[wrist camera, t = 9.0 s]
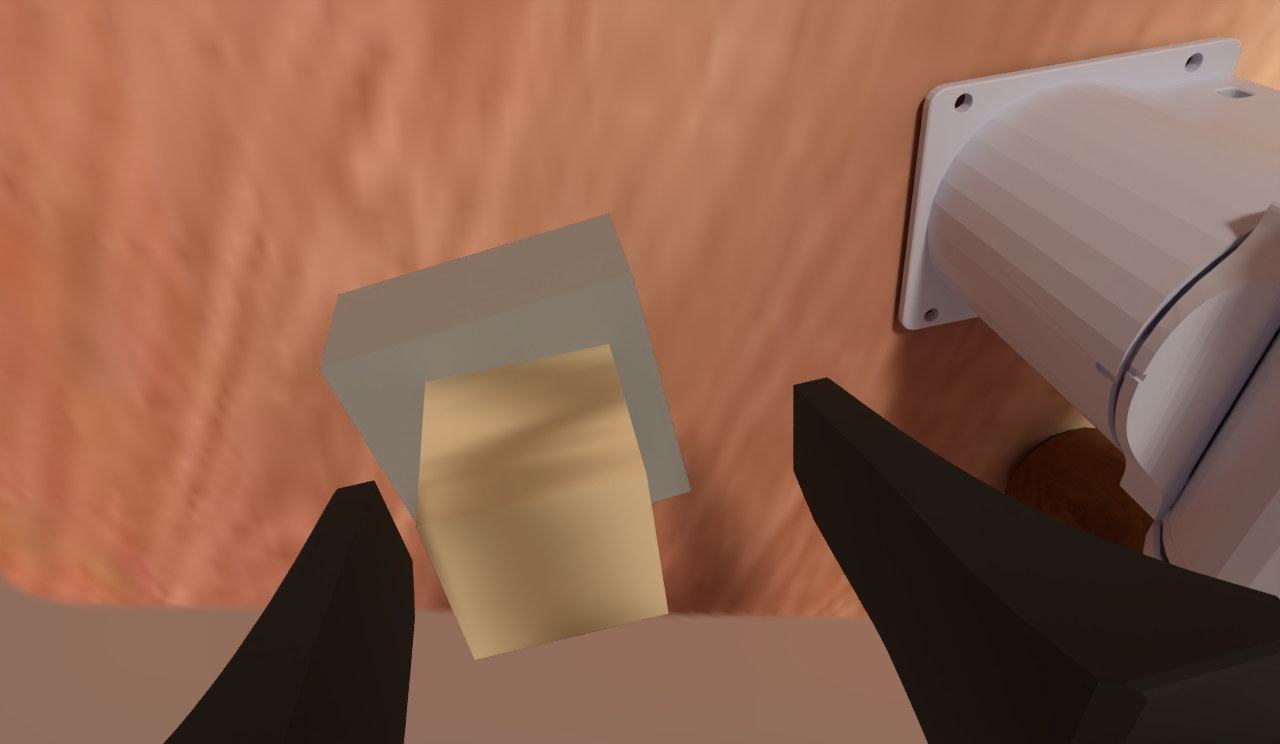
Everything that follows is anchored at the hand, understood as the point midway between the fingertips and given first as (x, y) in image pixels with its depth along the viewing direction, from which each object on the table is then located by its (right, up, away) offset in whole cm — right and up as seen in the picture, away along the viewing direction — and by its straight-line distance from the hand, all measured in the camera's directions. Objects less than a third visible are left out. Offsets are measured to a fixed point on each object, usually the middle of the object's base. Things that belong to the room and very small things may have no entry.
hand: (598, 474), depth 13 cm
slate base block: (-3, +2, +11) cm, 12 cm away
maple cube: (-2, 0, +8) cm, 8 cm away
